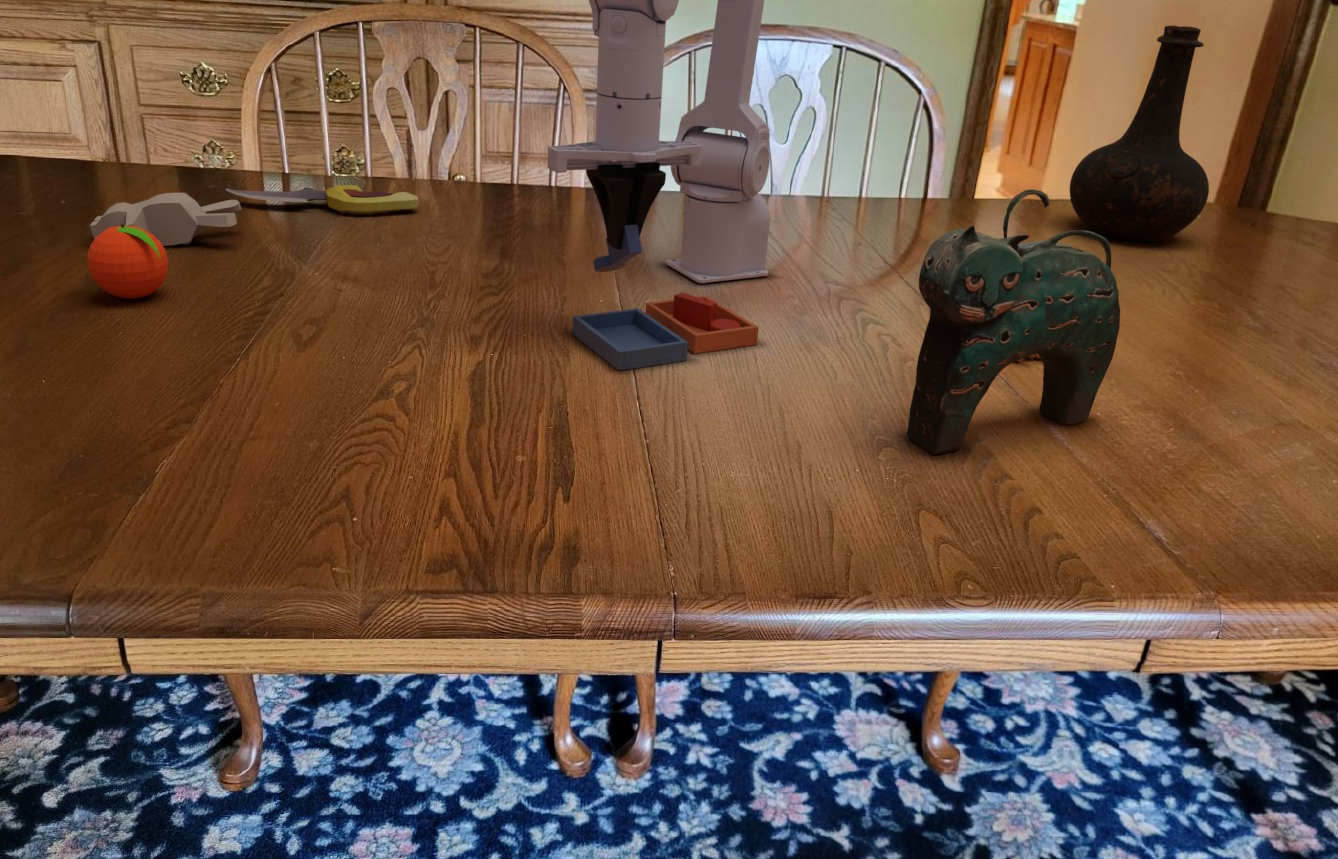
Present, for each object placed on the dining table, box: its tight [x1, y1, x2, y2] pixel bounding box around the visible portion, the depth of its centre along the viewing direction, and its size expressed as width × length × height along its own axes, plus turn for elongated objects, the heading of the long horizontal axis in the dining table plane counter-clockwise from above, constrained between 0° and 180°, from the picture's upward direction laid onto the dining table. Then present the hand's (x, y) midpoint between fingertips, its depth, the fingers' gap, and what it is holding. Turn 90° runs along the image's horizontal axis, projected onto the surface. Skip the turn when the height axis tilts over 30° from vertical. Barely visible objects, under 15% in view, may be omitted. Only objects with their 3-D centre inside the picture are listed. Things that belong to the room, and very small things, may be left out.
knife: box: [225, 184, 420, 214], centre depth 136 cm, size 8×3×25 cm
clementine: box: [87, 224, 169, 300], centre depth 100 cm, size 8×7×7 cm
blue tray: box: [572, 307, 688, 372], centre depth 98 cm, size 7×10×2 cm
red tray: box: [645, 295, 760, 354], centre depth 103 cm, size 7×10×2 cm
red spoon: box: [673, 292, 741, 332], centre depth 103 cm, size 7×3×3 cm, turn 53°
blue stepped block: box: [592, 225, 643, 273], centre depth 99 cm, size 7×3×3 cm, turn 29°
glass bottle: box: [1069, 25, 1210, 243], centre depth 145 cm, size 18×18×28 cm
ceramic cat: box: [906, 188, 1121, 456], centre depth 82 cm, size 20×6×20 cm, turn 117°
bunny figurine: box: [89, 192, 242, 247], centre depth 118 cm, size 10×5×15 cm
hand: (622, 245), depth 98 cm, fingers closed on blue stepped block
